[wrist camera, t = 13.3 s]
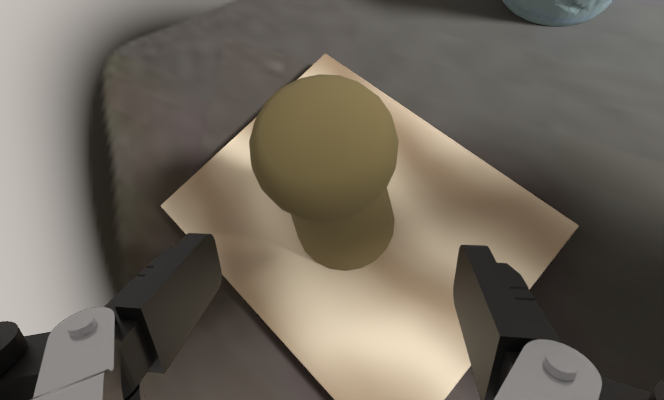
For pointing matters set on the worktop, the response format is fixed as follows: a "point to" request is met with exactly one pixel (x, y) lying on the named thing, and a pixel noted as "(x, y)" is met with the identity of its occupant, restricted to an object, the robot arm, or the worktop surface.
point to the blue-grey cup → (557, 10)
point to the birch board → (381, 275)
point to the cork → (329, 167)
